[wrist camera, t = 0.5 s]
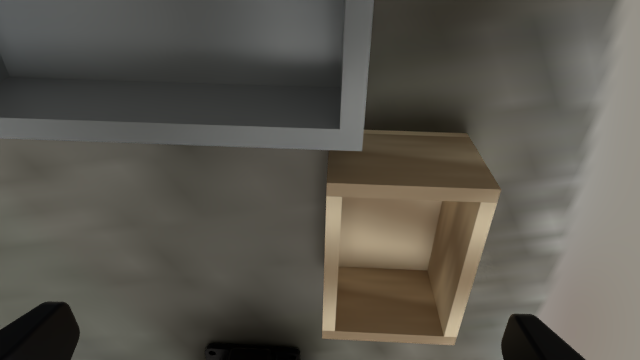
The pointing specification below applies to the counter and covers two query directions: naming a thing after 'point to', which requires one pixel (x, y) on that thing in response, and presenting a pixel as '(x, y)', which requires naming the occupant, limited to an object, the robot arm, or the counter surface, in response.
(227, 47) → the charcoal crate
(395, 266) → the birch crate
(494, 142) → the counter surface
